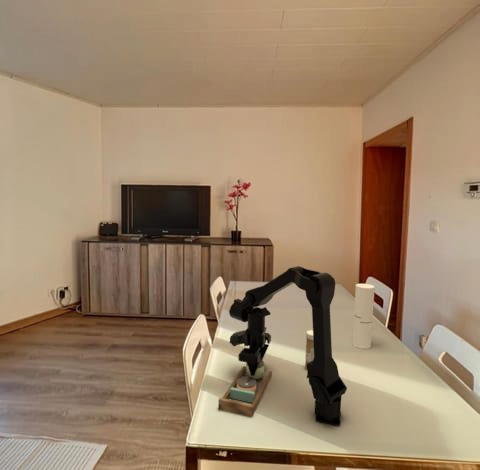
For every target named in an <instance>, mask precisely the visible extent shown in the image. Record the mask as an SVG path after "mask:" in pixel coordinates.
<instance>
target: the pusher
mask: <svg viewBox="0 0 480 470" xmlns="http://www.w3.org/2000/svg"><path fill="white" fill-rule="evenodd" d="M255 397H256V395H255V392H253V391H248V390H243V389H238V388H237V387H236V388H233V387H231V389H230V398H229V399H231V400H236V401H242V402H245V403H246V402H248V403H250V404H252V403H253V401H254V399H255Z"/></svg>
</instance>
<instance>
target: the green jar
mask: <svg viewBox="0 0 480 470" xmlns="http://www.w3.org/2000/svg"><path fill="white" fill-rule="evenodd" d="M245 364H246V373H245V375H246V376H248V377H252V378H254V379H255V380H256V379H257V380H258V379H261V378H263V377H264V376H265V361H264V360H260V363H259V365H258V368H257V370H256V373H255V375H254V376H251V374H250V370H249V367H248V364H247V362H245Z"/></svg>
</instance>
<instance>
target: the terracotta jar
mask: <svg viewBox="0 0 480 470" xmlns="http://www.w3.org/2000/svg"><path fill="white" fill-rule="evenodd" d="M236 388H238V389H243V390H248V391H253V392H255V396H256V395H257V381H256V379H254V378H252V377H248V376H247V375H246V376H245V375H244V376H243V377H240V378H239V379H238V380H237V387H236Z"/></svg>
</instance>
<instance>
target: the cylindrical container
mask: <svg viewBox="0 0 480 470" xmlns="http://www.w3.org/2000/svg"><path fill="white" fill-rule="evenodd" d="M375 290H376V289H375V285H373V284H369V283H356V284H355V293H354V294H355V295H354V312H353V313H354V314H353V326H352V327H353V328H352V346H353V347H355V348H357V349H361V350H367V349H368V350H369V349H371V347H372V334H373V332H372V331H373V317H374V305H375V303H374V302H375Z"/></svg>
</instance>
